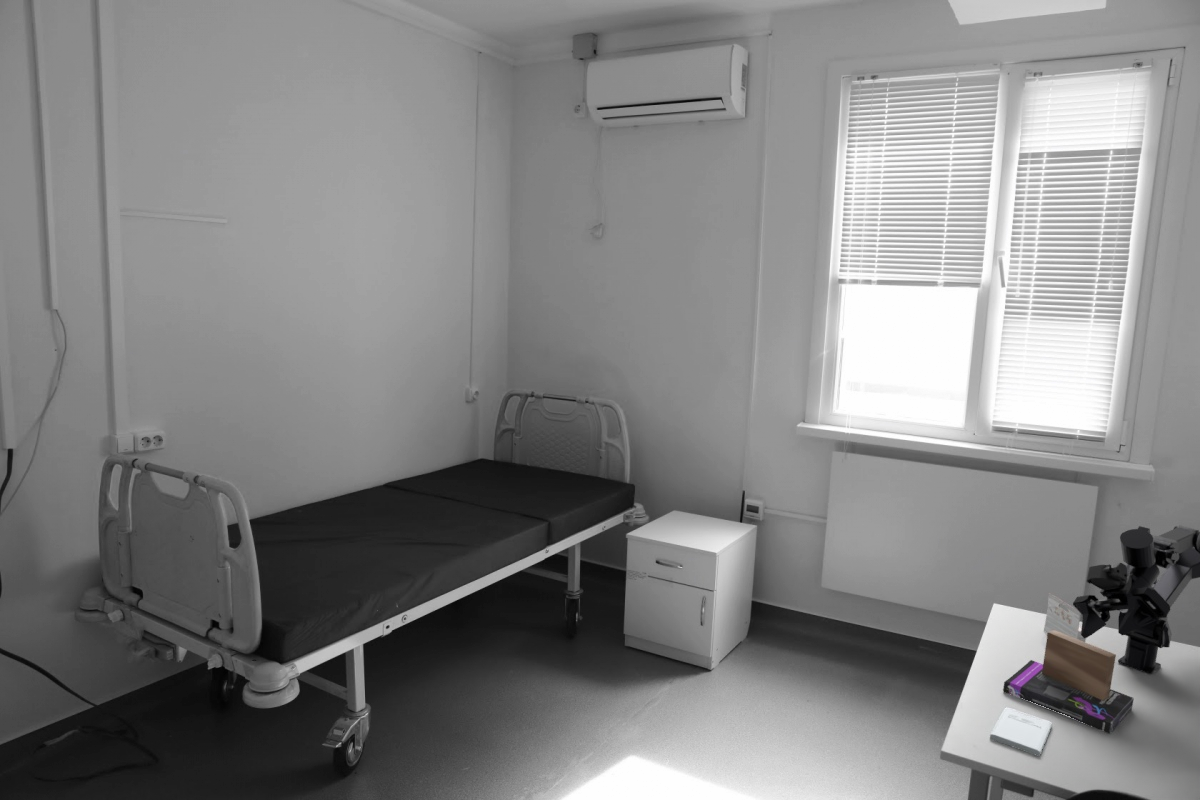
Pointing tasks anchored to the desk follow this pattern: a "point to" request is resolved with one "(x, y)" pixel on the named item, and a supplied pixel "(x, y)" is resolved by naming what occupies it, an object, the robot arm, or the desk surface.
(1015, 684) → the box
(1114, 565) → the robot arm
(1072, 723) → the desk surface
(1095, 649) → the walnut board
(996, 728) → the external hard drive
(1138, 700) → the desk surface
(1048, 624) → the ink cartridge box
